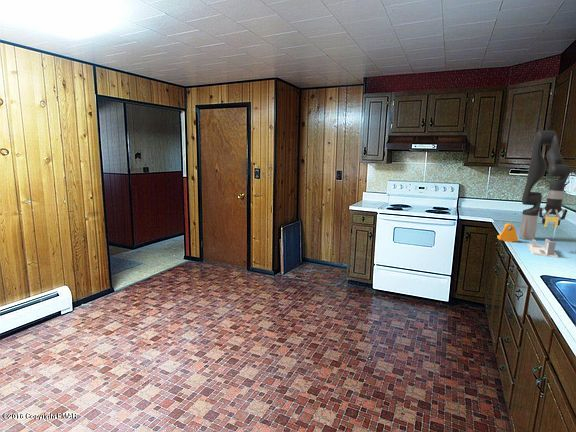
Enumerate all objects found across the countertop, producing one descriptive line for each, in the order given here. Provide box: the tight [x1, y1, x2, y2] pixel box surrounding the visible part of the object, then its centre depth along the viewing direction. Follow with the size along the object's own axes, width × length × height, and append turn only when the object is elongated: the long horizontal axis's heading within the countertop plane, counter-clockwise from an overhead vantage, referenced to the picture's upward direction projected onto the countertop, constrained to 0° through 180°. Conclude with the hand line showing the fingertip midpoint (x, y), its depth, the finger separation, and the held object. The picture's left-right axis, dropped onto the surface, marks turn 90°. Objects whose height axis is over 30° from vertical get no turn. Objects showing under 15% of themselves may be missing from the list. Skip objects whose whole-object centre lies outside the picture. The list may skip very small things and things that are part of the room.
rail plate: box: [527, 238, 559, 258], centre depth 213 cm, size 24×12×8 cm, turn 152°
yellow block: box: [543, 215, 559, 228], centre depth 211 cm, size 5×6×6 cm
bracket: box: [497, 222, 519, 243], centre depth 238 cm, size 11×7×12 cm, turn 72°
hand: (550, 225), depth 211 cm, fingers closed on yellow block, 6 cm apart
